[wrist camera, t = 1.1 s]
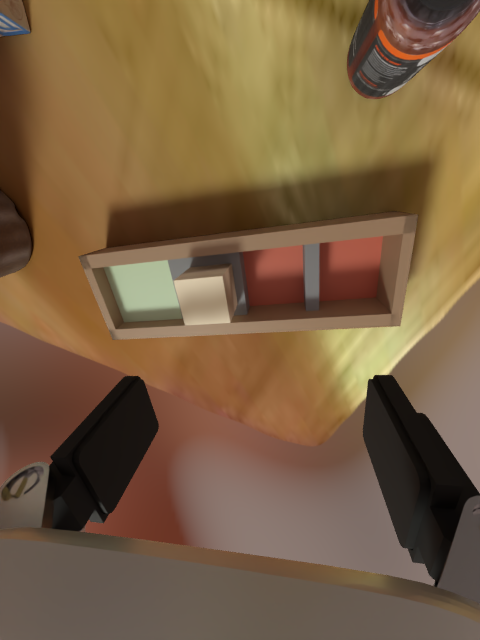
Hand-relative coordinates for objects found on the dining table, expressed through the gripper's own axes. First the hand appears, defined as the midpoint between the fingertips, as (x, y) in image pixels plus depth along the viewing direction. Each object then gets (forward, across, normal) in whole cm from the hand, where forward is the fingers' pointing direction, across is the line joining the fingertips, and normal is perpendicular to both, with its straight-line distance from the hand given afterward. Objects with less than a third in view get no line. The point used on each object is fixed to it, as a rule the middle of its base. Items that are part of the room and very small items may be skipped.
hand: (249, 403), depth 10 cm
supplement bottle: (+22, -11, -18) cm, 31 cm away
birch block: (+20, +7, 0) cm, 21 cm away
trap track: (+23, +4, 0) cm, 23 cm away
